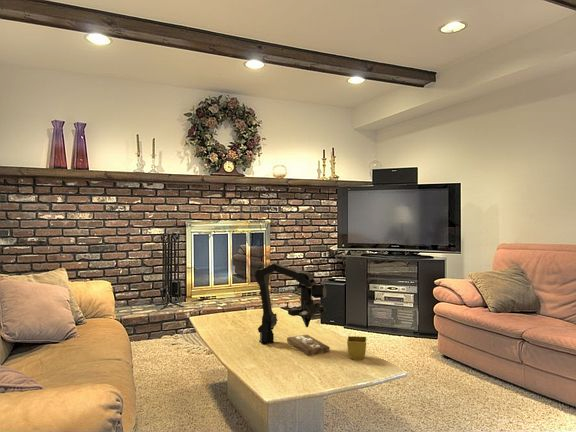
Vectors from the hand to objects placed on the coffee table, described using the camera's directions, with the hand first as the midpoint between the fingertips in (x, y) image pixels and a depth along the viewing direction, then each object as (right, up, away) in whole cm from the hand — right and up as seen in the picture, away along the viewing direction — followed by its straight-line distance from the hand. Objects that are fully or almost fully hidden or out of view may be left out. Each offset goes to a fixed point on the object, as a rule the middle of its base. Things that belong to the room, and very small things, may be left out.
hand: (306, 327), depth 215 cm
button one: (-3, -10, +8) cm, 13 cm away
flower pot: (+23, -10, -19) cm, 31 cm away
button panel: (0, -10, 0) cm, 10 cm away
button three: (+4, -9, -8) cm, 13 cm away
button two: (0, -9, 0) cm, 9 cm away
